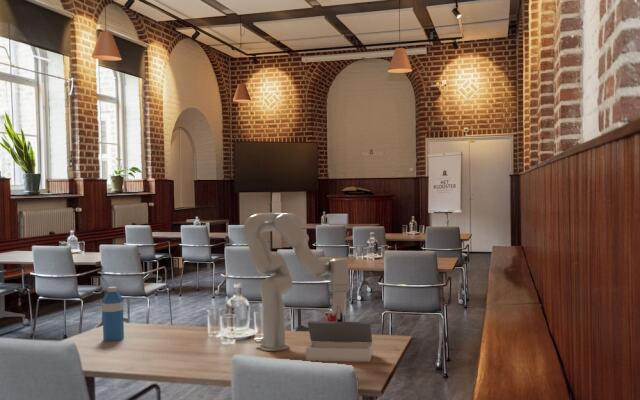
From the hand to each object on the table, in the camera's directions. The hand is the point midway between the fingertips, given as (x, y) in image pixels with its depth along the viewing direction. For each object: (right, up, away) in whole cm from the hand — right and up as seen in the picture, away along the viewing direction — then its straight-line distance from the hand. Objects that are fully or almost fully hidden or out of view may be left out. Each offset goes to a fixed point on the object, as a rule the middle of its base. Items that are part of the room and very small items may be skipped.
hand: (340, 331), depth 264 cm
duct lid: (0, 0, -2) cm, 2 cm away
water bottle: (-108, -12, +38) cm, 115 cm away
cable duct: (0, -10, -4) cm, 11 cm away
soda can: (-3, -10, +32) cm, 33 cm away
